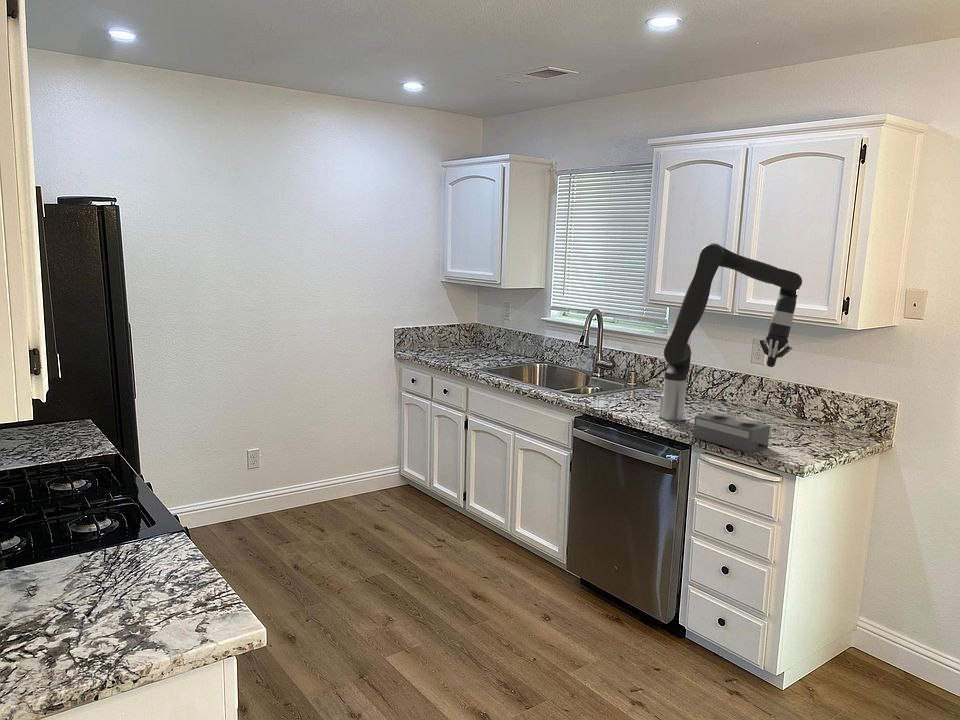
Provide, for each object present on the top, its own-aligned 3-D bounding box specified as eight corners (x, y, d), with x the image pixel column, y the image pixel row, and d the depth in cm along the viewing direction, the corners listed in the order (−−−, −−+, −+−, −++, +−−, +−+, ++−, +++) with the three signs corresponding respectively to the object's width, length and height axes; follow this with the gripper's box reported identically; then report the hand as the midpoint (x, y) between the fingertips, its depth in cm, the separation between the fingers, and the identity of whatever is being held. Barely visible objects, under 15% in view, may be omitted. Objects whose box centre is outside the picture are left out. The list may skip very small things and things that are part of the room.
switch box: (692, 437, 276) (694, 416, 274) (711, 432, 284) (713, 411, 282) (756, 455, 255) (759, 432, 254) (775, 449, 263) (777, 427, 262)
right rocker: (735, 420, 264) (735, 416, 264) (745, 420, 269) (746, 416, 268) (747, 423, 260) (748, 419, 260) (757, 423, 265) (758, 419, 265)
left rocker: (707, 413, 273) (707, 409, 273) (717, 413, 278) (717, 410, 278) (718, 415, 269) (719, 412, 269) (728, 416, 274) (729, 413, 274)
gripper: (760, 319, 282) (749, 362, 284) (792, 326, 272) (781, 370, 274) (770, 321, 287) (759, 363, 289) (801, 327, 277) (790, 371, 279)
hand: (770, 366), depth 282 cm, fingers closed
